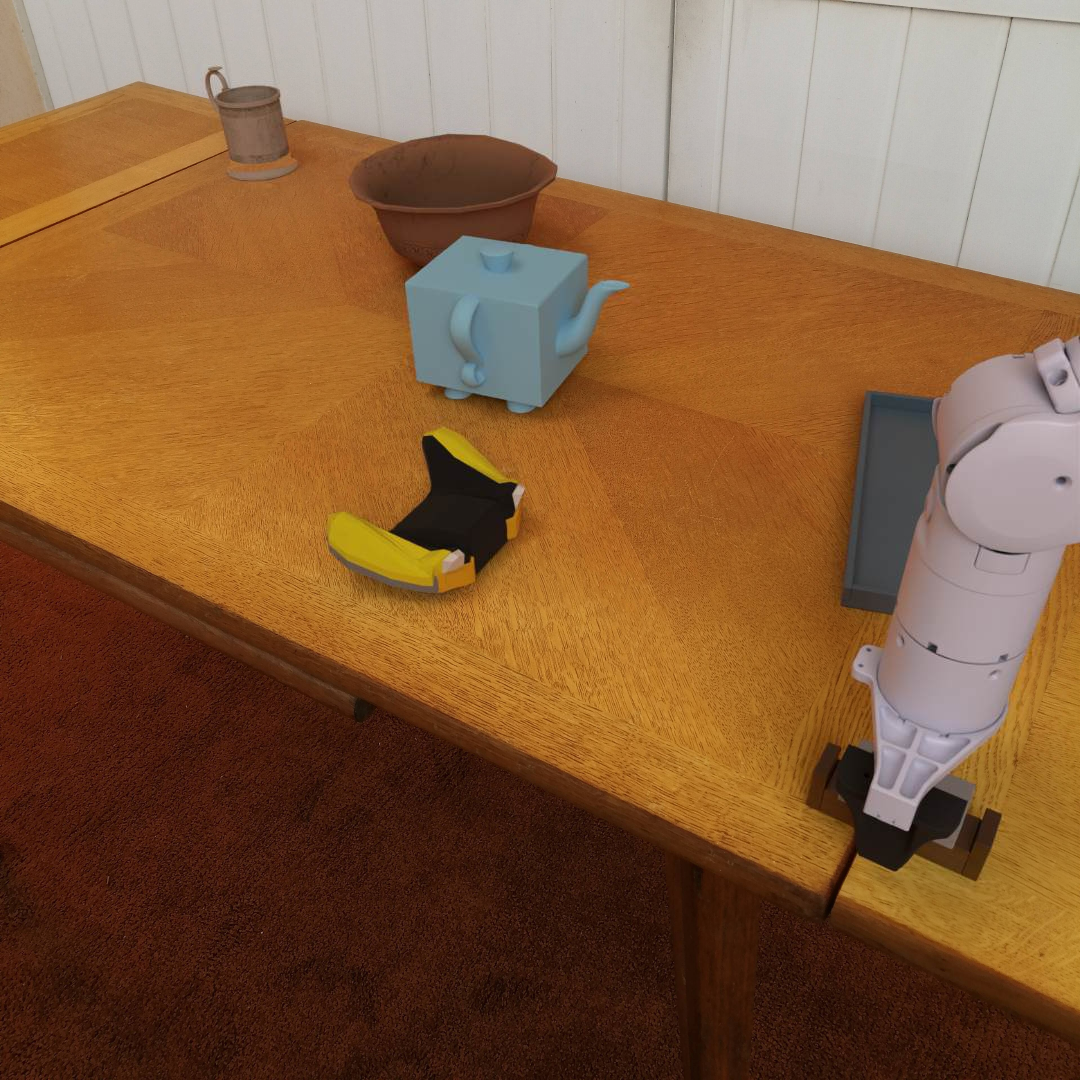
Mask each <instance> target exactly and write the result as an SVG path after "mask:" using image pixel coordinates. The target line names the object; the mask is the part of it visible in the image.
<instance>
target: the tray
mask: <svg viewBox="0 0 1080 1080" xmlns="http://www.w3.org/2000/svg"><path fill="white" fill-rule="evenodd" d="M936 398H937V397H936ZM936 398H935V397H927V396H921V395H911V394H902V393H896V392H895V393H894V392H886V391H878V390H869V389H865V394H864V399H863V403H862V409H861V419H860V428H859V437H858V445H857V454H856V464H855V470H854V481H853V488H852V489H853V490H852V497H851V507H850V517H849V525H848V533H847V543H846V551H845V552H846V553H845V561H844V570H843V578H842V586H841V595H840V606H843V607H848V608H854V609H859V610H865V611H870V612H876V613H882V614H886V615H887V614H888V615H893V612H894V609H895V605H896V600H897V596H898V592H899V589H900V585H901V581H902V577H903V574H904V570H905V566H906V563H907V559H908V555H909V551H910V548H911V544H912V540H913V536H914V533H915V529H916V525H917V522H918V520H919V518H920V516H921V514H922V513H923V511H924V505H925V500H926V496H927V494H928V492H929V490H930V488H931V484H932V480H933V477H934V473H935V469H936V466H937V465H938V464H939V463H940V460H939V448H938V441H937V439H936V436H935V433H934V428H933V421H932V407H933V402H934V400H935V399H936Z"/></svg>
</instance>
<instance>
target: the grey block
mask: <svg viewBox="0 0 1080 1080" xmlns="http://www.w3.org/2000/svg"><path fill="white" fill-rule="evenodd" d="M857 747H858V748H861V749H863V750H865V751H868V752H870V753H873V754H874V741H873V742H872V741H870V740H868V739H865V738H861V739H860V740H859V743H858V745H857ZM976 785H977V784H975V783H973V782H971V781H968V780H965V779H964V778H961V777H958V776H956V775H953V774H952V773H949V774H947V775H946V776H945V777H944V778H943V779H942V780H940V781H939V782H938V783H937V784H936V785H935V786H934V787H936V788H938V789H941V790H943V791H945V792H948V793H950V794H953V795H955V796H957V797H960V798H962V799H965V800H967V801H968V803H967V805H966V808H965V811H964V814H963V817H962V819H961V822H960V825H959V826H958V828H957V829H956V830H955V831H954V833H953V834H952V835H951V836H949V837H948V838H946V839H937V840H933V841H934V842H936V843H938V844H940V845H943V846H945V847H947V848H949V849H953V847H954V844H955V842H956V839H957V837H958V834H959V832H960V829H961V827H962V824H963V821H964V819H965V816H966V813H968V810H969V807H970V804H971V801H972V798H973V796H974V793H975V790H976V788H977V786H976ZM838 800H840V801H843V802H845V801H844V799H843V798H842V797H841V796H840V795H838ZM845 803H846V802H845Z"/></svg>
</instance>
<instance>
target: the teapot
mask: <svg viewBox="0 0 1080 1080" xmlns="http://www.w3.org/2000/svg"><path fill="white" fill-rule="evenodd" d="M588 265H589V256H588V255H587V254H586V253H580V252H575V251H568V250H563V249H562V250H561V249H555V248H548V247H542V246H536V245H533V244H529V243H523V244H517V243H511V242H504V241H497V240H491V239H484V238H477V237H470V236H462V237H461V238H460V239H458V240H457V241H456V242H455V243H453V244H452V245H451V246H450V247H448V248H447V249H446V250H445V251H443V252H442V253H441V254H440V255H438V256H437V257H436V258H435V259H433V260H432V261H431V262H430V263H429V264H427V265H426V266H425V267H424V268H423V269H421V268H420V270H419V271H418V272H416V273H415V274H414V275H412V276H411V277H410V278H409V279H408V280H406V281H405V283H404V289H405V297H406V304H407V305H406V306H407V313H408V320H409V328H410V329H409V330H410V335H411V336H410V338H411V345H412V351H413V361H414V369H415V376H416V377H415V378H416V382H420V383H425V384H429V385H435V386H439V387H442V388H445V389H444V391H443V394H444V396H445V397H447V398H448V399H452V400H462V399H466V398H468V397H470V396H471V395H472V394H476V395H481V396H486V397H491V398H495V399H500V400H504V401H506V408H507V409H508V410H509V411H510V412H513V413H517V414H524V413H525V414H526V413H530V412H531V411H533V410H535V408H536V407H537V408H543V407H544V405H546V403H547V402H548V400H550V398H551V397H552V396H553V395H554V394H555V392H556V391H557V390H558V389H559V387H560V386H561V385H562V384H563V382H565V380H566V379H567V378H568V376H570V374H571V373H572V371H573V370H574V369H575V368H576V367H577V365H578V364H579V363H580V362H581V361H582V359H583V358H584V357H585V356H586V354H588V352H589V341H590V339H591V338H592V336H593V334H594V332H595V330H596V327H597V324H598V320H599V317H600V314H601V311H602V308H603V306H604V304H605V302H606V301H607V299H608V298H609V297H611V296H612V295H613V294H615V293H618V292H620V291H624V290H626V289H628V288H630V287H631V284H630V283H628V282H626V281H621V280H613V279H612V280H611V279H609V280H608V279H607V280H601V281H598V282H596V283H595V284H594V285H592V286H591V287H590V289H589V266H588Z"/></svg>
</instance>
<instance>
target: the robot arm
mask: <svg viewBox="0 0 1080 1080" xmlns="http://www.w3.org/2000/svg"><path fill="white" fill-rule="evenodd" d="M932 421H933V428H934V433H935V436H936V439H937V441H938V448H939V460H940V463H939V464H938V465H937V466H936V469H935V473H934V477H933V480H932V484H931V488H930V490H929V492H928V494H927V496H926V500H925V505H924V511H923V513H922V514H921V516H920V518H919V520H918V522H917V525H916V529H915V533H914V536H913V540H912V544H911V548H910V551H909V555H908V559H907V563H906V566H905V570H904V574H903V577H902V581H901V585H900V589H899V592H898V596H897V600H896V605H895V609H894V612H893V614H892V616H891V620H890V624H889V627H888V631H887V633H886V639H885V642H884V646H883V648H882V647H878V646H876V645H872V644H865V645H862V646H861V647H860V648H859V650H858V652H857V653H856V655H855V658H854V659H853V661H852V665H851V669H850V675H851V676H852V678H853V679H855V680H856V681H857V682H861V683H863V684H865V685H866V686H867V687H868V688H869V690H870V701H871V702H870V704H871V717H872V718H871V719H872V720H871V721H872V741H873V743H874V754H873V753H870V752H868V751H865V750H863V749H861V748H858V746H855V745H853V744H851V743H848V744H847V746H846V748H845V750H844V752H843V754H842V756H841V760H840V759H839V760H840V762H839V764H838V767H837V771H836V774H835V788H836V791H837V792H838V793H839V795H840V796H841V797H842V798H843V799H844V801H845V802H846V804H847V805H848V807H849V809H850V811H851V814H852V818H853V824H854V826H853V834H854V840H855V848H856V853H857V855H858V856H859V857H861V858H864V859H865V860H867V861H870V862H872V863H874V864H876V865H878V866H881V867H883V868H885V869H888V870H889V871H891V872H898V871H899V870H900V869H902V868H903V867H904V866H905V865H906V864H907V863H908V862H909V861H910V859H912V857H913V856H914V855H916V854H915V852H916V851H917V850H918V849H919V848H920V847H922V846H923V845H924V844H926V843H928V842H930V841H933V840H937V839H946V838H948V837H949V836H951V835H952V834H953V833H954V831H955V830H956V829H957V828H958V826H959V825H960V822H961V819H962V817H963V814H964V811H965V808H966V805H967V803H968V801H967V800H965V799H962V798H960V797H957V796H955V795H953V794H950V793H948V792H945V791H943V790H941V789H938V788H936V787H934V786H935V785H936V784H937V783H938V782H939V781H940V780H942V779H943V778H944V777H945V776H946V775H947V774H951V772H952V771H954V770H955V768H957V767H958V766H959V765H960V764H962V763H963V762H964V761H965V760H966V759H967V758H969V757H970V756H971V755H972V754H974V752H976V751H977V750H979V748H981V747H982V745H984V744H985V743H987V742H988V741H989V740H990V739H991V738H993V736H995V735H996V733H997V732H999V730H1000V729H1001V727H1002V726H1003V725H1004V722H1005V719H1006V717H1007V715H1008V713H1009V707H1010V694H1011V692H1012V689H1013V687H1014V684H1015V681H1016V679H1017V677H1018V674H1019V671H1020V669H1021V666H1022V664H1023V661H1024V659H1025V656H1026V654H1027V652H1028V649H1029V646H1030V644H1031V641H1032V638H1033V636H1034V633H1035V631H1036V628H1037V626H1038V623H1039V620H1040V618H1041V616H1042V613H1043V611H1044V608H1045V606H1046V603H1047V601H1048V598H1049V596H1050V594H1051V590H1052V589H1053V586H1054V583H1055V580H1056V578H1057V575H1058V573H1059V571H1060V568H1061V565H1062V562H1063V557H1064V553H1065V551H1066V549H1067V546H1068V545H1076V544H1080V334H1078V335H1076V336H1074V337H1072V338H1070V339H1068V340H1066V342H1063V341H1062V339H1061V338H1059V337H1056V338H1054V339H1052V340H1050V341H1048V342H1046V343H1044V344H1042V345H1040V346H1038V347H1037V348H1035V349H1033V352H1023V354H1013V353H1007V354H1002V355H998V356H995V357H991V358H988V359H986V360H983V361H981V362H978V363H977V364H975V365H974V366H973V365H972V366H971V367H970V368H968V369H967V370H965V371H964V372H963V373H962V374H960V375H958V377H956V379H955V380H954V381H953V382H952V383H951V384H950V390H949V392H948V393H947V392H944V393H943V395H942V396H937V397H936V399H935V400H934V402H933V407H932Z"/></svg>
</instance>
